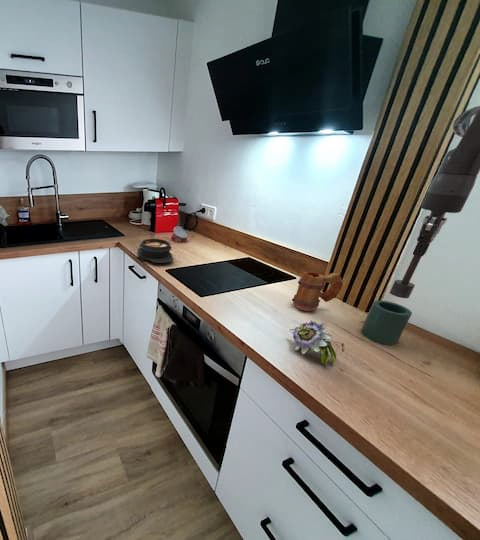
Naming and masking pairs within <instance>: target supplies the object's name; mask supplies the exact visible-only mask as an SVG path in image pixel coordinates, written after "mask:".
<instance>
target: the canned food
mask: <svg viewBox="0 0 480 540" xmlns="http://www.w3.org/2000/svg"><path fill="white" fill-rule="evenodd" d="M172 231H173V234H171V238H170V240H171V241H172V242H174V243H178V244H179V243H181V244H183V243H186V242H187V241H188V233H187V231H186V230H185V229H184V228H183V227H182V226H180V225H176V226H175V227H174V228H173V230H172Z"/></svg>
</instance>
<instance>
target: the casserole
mask: <svg viewBox="0 0 480 540" xmlns="http://www.w3.org/2000/svg"><path fill="white" fill-rule="evenodd" d="M171 250H172V246H171V243H170V242H169V241H167V240H165V239H160V238H147V239H143V240H142V241H141V242H140V244H139V247H138V248H137V256H138V257H140V258H141V259H144V260H147V261H150V262H152V263H155V264H166V263H171V262H173V261H174V258H173V254H172V253H171V252H170V251H171Z"/></svg>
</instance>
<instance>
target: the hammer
mask: <svg viewBox="0 0 480 540" xmlns="http://www.w3.org/2000/svg"><path fill="white" fill-rule="evenodd" d="M425 238H429V237H425ZM421 259H422V257H420V256H416V255H413V256H412V258H411V259H410V262H409V265H408V267H407V269H406V271H405V273H404V274H403V277H402V279H395V280H394V282H393V284H392V286H391V288H390V291H389V294H390V295H391V296H394V297H397V298H401V299H410V296H411V295H412V292H413V290H414V288H415V286H416V285H415V284H414V283H413V282H411V280H412V278H413V276H414V273H415V271H416V269H417V267H418V265H419V263H420V262H421Z"/></svg>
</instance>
